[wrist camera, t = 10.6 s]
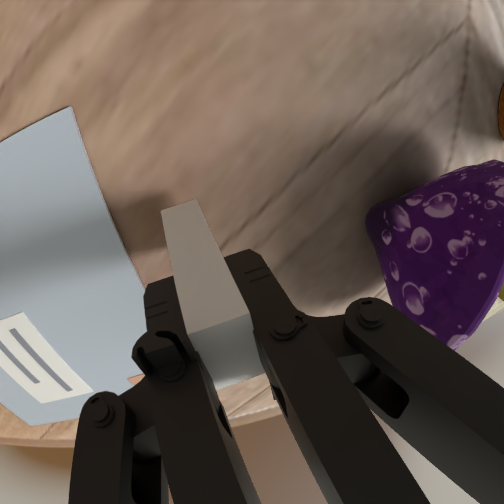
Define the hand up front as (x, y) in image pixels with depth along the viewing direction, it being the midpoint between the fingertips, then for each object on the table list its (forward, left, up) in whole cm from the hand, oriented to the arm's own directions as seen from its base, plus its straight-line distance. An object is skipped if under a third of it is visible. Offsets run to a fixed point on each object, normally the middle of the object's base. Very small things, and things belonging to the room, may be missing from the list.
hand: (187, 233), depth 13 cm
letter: (+3, -11, -1) cm, 11 cm away
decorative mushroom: (+7, +19, +10) cm, 23 cm away
